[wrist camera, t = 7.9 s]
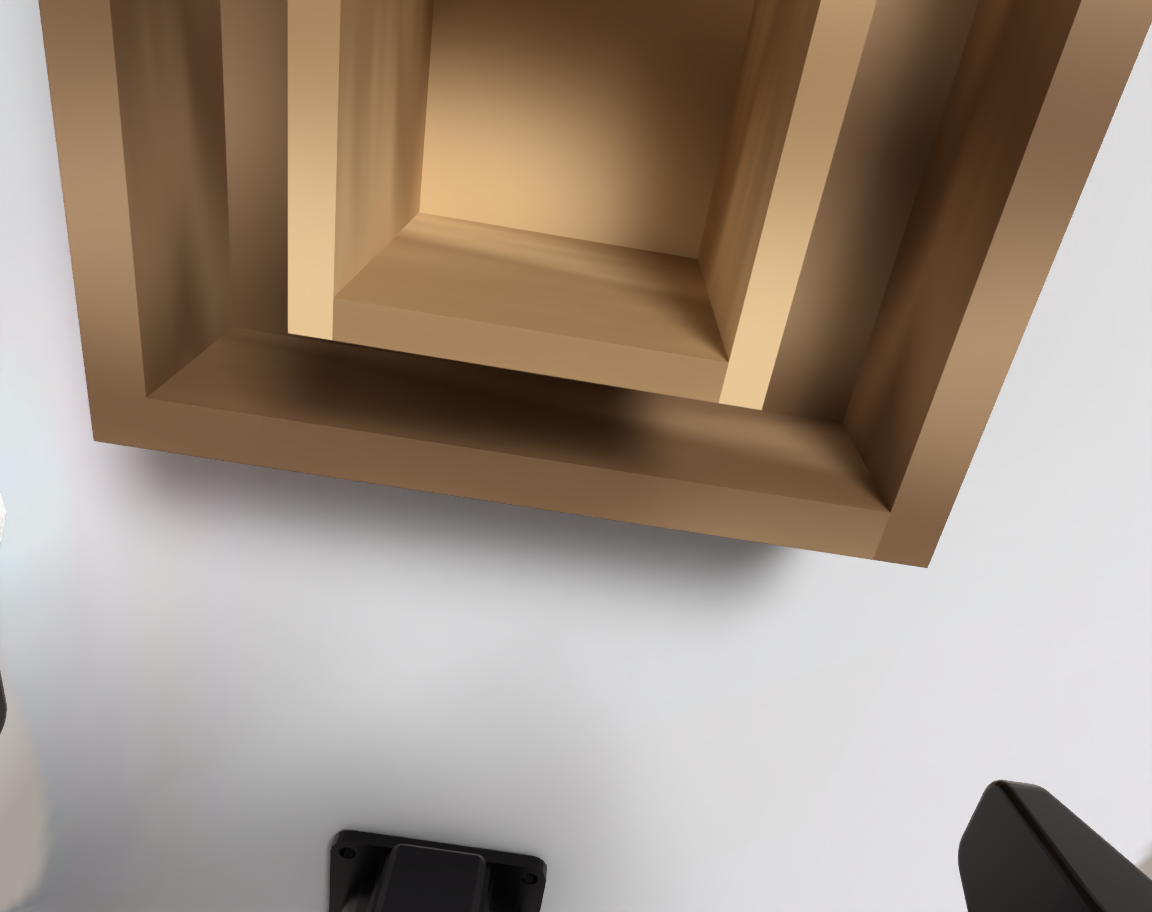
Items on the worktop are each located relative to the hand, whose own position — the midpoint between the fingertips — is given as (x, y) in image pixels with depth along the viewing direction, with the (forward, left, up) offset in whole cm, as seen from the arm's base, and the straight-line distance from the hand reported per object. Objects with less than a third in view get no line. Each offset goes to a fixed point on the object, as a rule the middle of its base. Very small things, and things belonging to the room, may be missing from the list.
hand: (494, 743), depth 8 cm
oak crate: (+5, 0, -11) cm, 12 cm away
